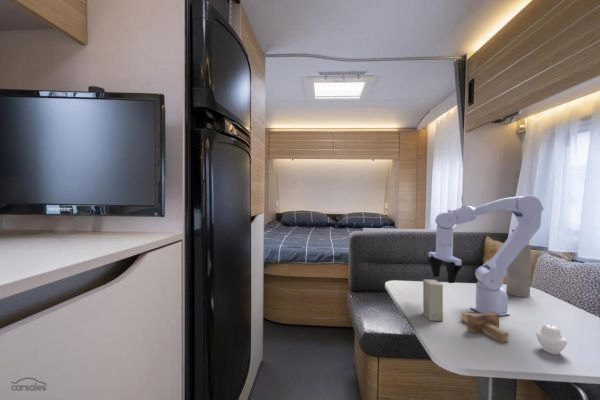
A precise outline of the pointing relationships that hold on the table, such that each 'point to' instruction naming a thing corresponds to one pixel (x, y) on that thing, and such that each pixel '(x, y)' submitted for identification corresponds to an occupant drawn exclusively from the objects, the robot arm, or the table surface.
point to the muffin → (551, 339)
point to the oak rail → (490, 330)
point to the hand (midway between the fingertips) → (443, 279)
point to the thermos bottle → (520, 273)
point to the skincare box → (433, 299)
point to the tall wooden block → (482, 320)
